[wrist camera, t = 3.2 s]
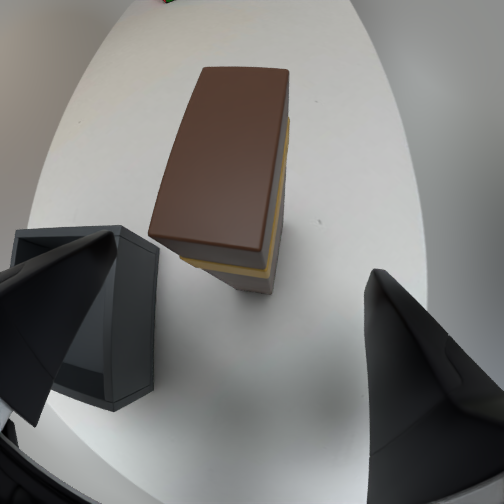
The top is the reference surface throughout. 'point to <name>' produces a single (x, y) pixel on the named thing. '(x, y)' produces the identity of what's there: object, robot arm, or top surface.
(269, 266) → the chocolate bar
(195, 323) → the top surface
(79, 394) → the waste bin
